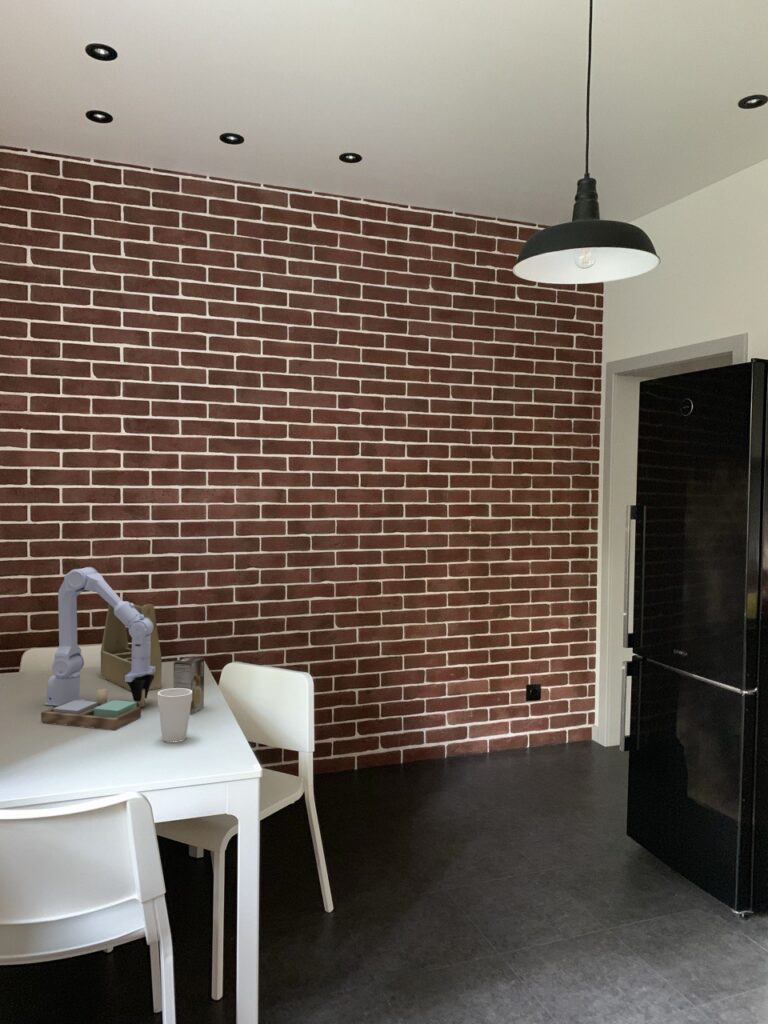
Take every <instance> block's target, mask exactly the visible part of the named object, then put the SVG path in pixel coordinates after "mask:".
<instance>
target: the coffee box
mask: <svg viewBox="0 0 768 1024" xmlns="http://www.w3.org/2000/svg"><path fill="white" fill-rule="evenodd" d="M172 681H173V684H172V685H173V688H185V689H190V690H192V701H191V708H190V714H191V715H193V714H194V713H196V712H198V711H199V710H201V709H203V708H204V705H205V704H204V703H205V698H204V697H205V696H204V695H205V657H194V656H185V657H183V658H181V659H179V660H176V661H175V662H173V680H172ZM197 710H198V711H197ZM192 713H193V714H192ZM190 714H189V715H190Z"/></svg>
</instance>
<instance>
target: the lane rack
mask: <svg viewBox="0 0 768 1024" xmlns="http://www.w3.org/2000/svg"><path fill="white" fill-rule="evenodd" d="M69 702H71V701H69ZM69 702H66V703H69ZM66 703H64V704H66ZM64 704H61V705H64ZM61 705H59V706H61ZM102 705H103V704H102ZM59 706H54V707H52V708H49V709H46V710H44V711H41V712H40V722H46V723H45V724H50V723H56V724H55V725H60V724H67V725H66V726H69V725H75V726H74V727H79V726H84V727H83V728H89V727H94V728H93V729H98V728H101V729H102V730H108V729H112V730H111V731H117V730H118V728H119V729H120V727H121V728H122V726H123V727H124V725H125V726H127V725H128V723H129V724H130V722H131V723H132V721H133V722H135V721H136V719H137V720H139V719H141V718H142V707H136V708H134V709H132V710H129V711H127V712H125V713H123V714H121V715H119V716H117V717H115V718H110V717H100V716H94V708H93V709H90V710H88V711H86V712H83V713H81V714H69V713H59V712H54V708H56V707H59ZM100 706H101V705H100ZM97 707H98V706H97ZM95 708H96V707H95ZM140 717H141V718H140ZM138 718H139V719H138ZM134 720H135V721H134ZM126 724H127V725H126ZM101 729H100V730H101ZM116 729H117V730H116Z"/></svg>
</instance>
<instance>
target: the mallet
mask: <svg viewBox="0 0 768 1024" xmlns="http://www.w3.org/2000/svg"><path fill="white" fill-rule="evenodd" d="M136 707H140V708H144V707H146V698H145V689H142V696H141V701H128V700H127V701H125V700H116V699H113V700H111V701H107V703H105V704H103V705H101V706H98V707H96V708H94V716H100V717H110V718H115V717H117V716H119V715H121V714H123V713H125V712H127V711H129V710H132V709H134V708H136Z"/></svg>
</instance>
